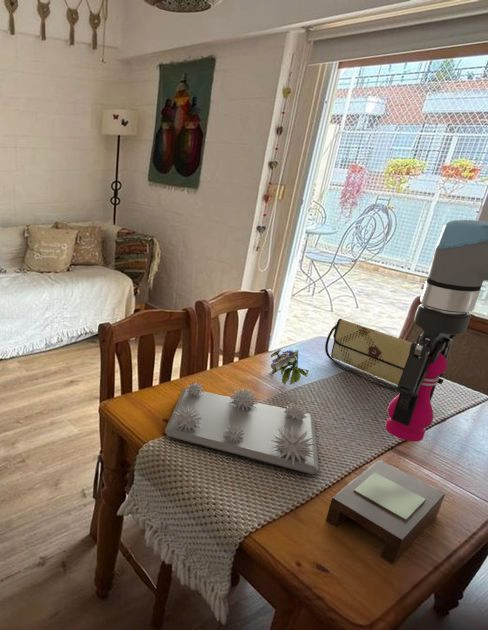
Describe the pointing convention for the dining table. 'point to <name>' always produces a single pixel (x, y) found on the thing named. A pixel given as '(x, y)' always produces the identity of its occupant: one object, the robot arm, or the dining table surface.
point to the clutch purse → (369, 351)
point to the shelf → (388, 506)
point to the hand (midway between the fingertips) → (409, 415)
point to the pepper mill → (418, 406)
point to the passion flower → (283, 362)
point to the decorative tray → (246, 428)
